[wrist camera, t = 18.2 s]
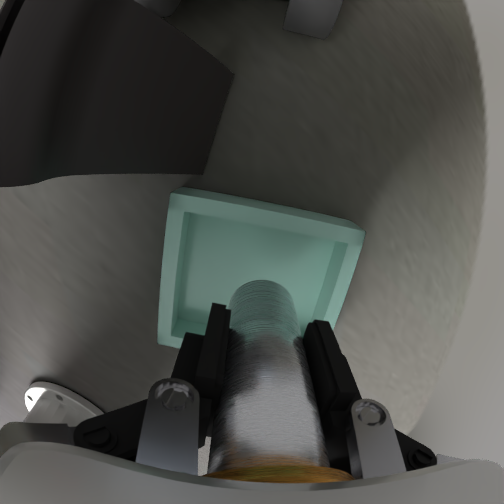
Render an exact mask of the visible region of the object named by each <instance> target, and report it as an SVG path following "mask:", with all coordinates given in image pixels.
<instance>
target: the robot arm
mask: <svg viewBox="0 0 504 504" xmlns="http://www.w3.org/2000/svg"><path fill="white" fill-rule="evenodd" d="M230 318H231V310H230V309H226V305H223V304H218V303H213V302H212V306H211V310H210V314H209V318H208V323H207V327H206V331H205V335H200V334H195V333H190V332H186V333H185V335H184V338H183V341H182V344H181V347H180V350H179V354H178V357H177V360H176V363H175V366H174V369H173V372H172V376H171V378H167V379H162V380H160V381H158V382H156V383H155V384H154V385H153V386H152V387H151V389H150V391H149V396H148V399H146V400H143V401H140V402H137V403H135V404H132V405H129V406H126V407H123V408H120V409H117V410H114V411H111V412H108V413H103V412H102V411H101V410H100V409H99V408H97V407H96V406H95V405H93V404H92V403H91V402H89V401H88V400H86V399H84V398H83V397H81V396H80V395H78V394H76V393H74V392H72V391H71V390H69V389H66V388H64V387H62V386H59V385H56V384H53V383H49V382H35V383H33V384H31V385H30V386H29V388H28V389H27V390H26V392H25V402H26V406H27V408H28V410H29V413H28V415H27V417H26V418H25V420H24V421H23V422H9V423H7V424H6V425H4V426H3V427H2V428H1V430H0V504H504V469H503V468H502V467H501V466H500V465H499V464H497V463H495V462H492V461H489V460H480V459H468V460H464V459H459V458H453V457H449V456H444V455H440V454H437V455H436V456H435V454H434V453H433V452H432V451H431V449H429V448H427V447H426V446H424V445H423V444H421V443H419V442H417V441H415V440H413V439H412V438H410V437H408V436H406V435H405V434H403V433H401V432H399V431H398V430H396V429H394V427H393V423H392V420H391V417H390V414H389V412H388V410H387V409H386V408H385V407H384V406H383V405H382V404H381V403H379V402H377V401H375V400H372V399H362V398H361V395H360V393H359V390H358V387H357V385H356V382H355V380H354V377H353V375H352V372H351V369H350V367H349V364H348V362H347V359H346V357H345V356H344V355H343V354H342V353H341V350H340V348H339V345H338V343H337V340H336V338H335V335H334V333H333V330H332V328H331V325H330V323H329V321H323V320H316V319H315V320H314V321H313V322H312V323H311V322H309V323H308V325H307V327H306V330H305V333H304V336H303V339H302V340H303V344H304V348H305V352H306V357H307V361H308V365H309V370H310V374H311V379H312V383H313V388H314V392H315V397H316V401H317V406H318V410H319V415H320V420H321V424H322V429H323V434H324V439H325V444H326V449H327V454H328V459H329V464H330V468H334V469H338V470H342V471H344V472H347V473H349V474H350V475H352V476H353V477H354V479H355V480H349V481H338V482H322V483H263V482H247V481H235V480H226V479H218V478H210V477H204V476H198V449H199V448H201V447H202V446H204V445H205V439H206V436H208V437H211V436H212V428H213V420H214V413H215V410H216V408H217V406H218V404H219V400H220V395H221V390H222V385H223V379H224V371H225V362H226V353H227V344H228V336H229V327H230Z"/></svg>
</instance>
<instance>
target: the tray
mask: <svg viewBox="0 0 504 504" xmlns="http://www.w3.org/2000/svg"><path fill="white" fill-rule="evenodd" d="M365 235H366V232H365V231H364V230H363V229H361V228H360V227H359V226H357V225H356V224H355V223H353V222H352V221H350V220H346V219H342V218H338V217H334V216H329V215H325V214H321V213H316V212H312V211H307V210H303V209H298V208H293V207H289V206H284V205H279V204H274V203H269V202H264V201H259V200H254V199H249V198H244V197H239V196H233V195H228V194H222V193H217V192H211V191H206V190H200V189H194V188H188V187H180V188H178V189H177V190H175V191H173V192H171V193H170V200H169V207H168V215H167V223H166V232H165V240H164V250H163V260H162V271H161V284H160V298H159V315H158V338H157V344H161V345H166V346H170V347H175V348H180V347H181V344H182V341H183V338H184V335H185V333H186V332H190V333H195V334H200V335H205V331H206V327H207V323H208V318H209V314H210V310H211V306H212V302H213V303H218V304H223V305H226V309H228V305H229V301H230V298H231V296H232V294H233V293H234V292H235V291H236V290H237V289H238V288H239V287H240V286H242V285H243V284H245V283H247V282H250V281H254V280H270V281H274V282H276V283H278V284H280V285H282V286H283V287H284V288H286V289H287V290H288V292H289V293H290V295H291V296H292V299H293V302H294V306H295V310H296V315H297V319H298V323H299V327H300V331H301V335H302V339H303V336H304V333H305V330H306V327H307V325H308V323H309V322H311V323H312V322H313V321H314V320H315V319H316V320H323V321H329V323H330V325H331V328H332V330H333V329H334V326H335V324H336V321H337V318H338V316H339V313H340V310H341V308H342V305H343V302H344V299H345V296H346V294H347V291H348V288H349V285H350V282H351V279H352V276H353V273H354V270H355V267H356V264H357V261H358V258H359V254H360V251H361V248H362V245H363V241H364V238H365Z"/></svg>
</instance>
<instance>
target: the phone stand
mask: <svg viewBox="0 0 504 504" xmlns="http://www.w3.org/2000/svg"><path fill="white" fill-rule="evenodd" d="M233 76H234V73H232V72H231V71H230V70H229V69H228V68H227V67H225V66H224V65H223V64H222V63H220V62H219V61H218V60H217V59H216V58H214V57H213V56H212V55H211V54H209V53H208V52H207V51H206V50H204V49H203V48H202V47H200V46H199V45H198V44H196V43H195V42H194V41H193V40H191V39H190V38H189V37H187V36H186V35H184V34H183V33H182V32H180V31H179V30H178V29H176V28H175V27H173V26H172V25H171V24H169V23H168V22H166V21H165V20H163V19H162V18H160V17H159V16H157V15H156V14H154V13H153V12H151V11H150V10H148V9H147V8H145V7H144V6H142V5H141V4H139V3H137V2H136V1H134V0H5V2H4V4H3V6H2V8H1V10H0V187H13V186H24V185H30V184H35V183H39V182H42V181H44V180H47V179H51V178H55V177H61V176H70V175H89V174H197V175H203V171H204V168H205V164H206V161H207V157H208V154H209V151H210V147H211V144H212V141H213V137H214V134H215V131H216V128H217V124H218V121H219V118H220V115H221V112H222V109H223V106H224V103H225V100H226V97H227V94H228V91H229V88H230V85H231V82H232V79H233Z"/></svg>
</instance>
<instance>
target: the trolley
mask: <svg viewBox="0 0 504 504" xmlns="http://www.w3.org/2000/svg"><path fill="white" fill-rule="evenodd" d="M134 1H136V2H137V3H139V4H141V5H142V6H144V7H145V8H147V9H148V10H150V11H151V12H153V13H154V14H156V15H157V16H159V17H168V16H170V15H171V14H172V13H173V12H174V11H175V10H176V8H177V7H178V5H179V3H180V0H134ZM342 2H343V0H289V3H288V7H287V11H286V16H285V20H284V25H283V30H288V31H292V32H296V33H300V34H304V35H308V36H312V37H316V38H319V39H323V40H325V39H326V38H327V37H328V35H329V34H330V32H331V30H332V28H333V26H334V24H335V22H336V19H337V17H338V14H339V11H340V8H341V5H342Z"/></svg>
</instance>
